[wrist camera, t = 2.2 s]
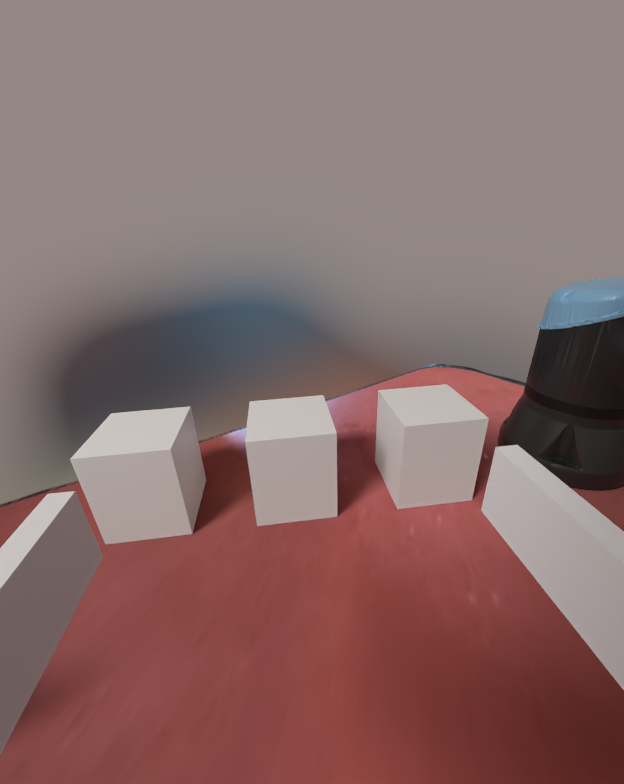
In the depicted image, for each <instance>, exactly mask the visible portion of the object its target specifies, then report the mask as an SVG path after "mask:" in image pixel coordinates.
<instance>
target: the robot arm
mask: <svg viewBox="0 0 624 784" xmlns="http://www.w3.org/2000/svg"><path fill="white" fill-rule="evenodd" d="M538 327H539V328H540V331H539V335H538V339H537V343H536V347H535V351H534V354H533V358H532V362H531V366H530V369H529V373H528V377H527V381H526V385H525V389H524V393H523V395H522V397H521V398H520V399H519V401H518V402H517V404H516V405H515V407H514V409H513V410H512V412H511V414H510V416H509V417H508V418H506V419H505V421H504V422H503V423H502V425H501V428H500V432H499V436H498V445H499V447H495V452H494V456H493V461H492V465H491V469H490V474H489V478H488V482H487V487H486V491H485V496H484V500H483V504H482V509H481V511H482V512H483V513H484V515H485V516H486V517H487V518H488V520H489V521H490V522H491V524H492V525H493V526H494V527H495V529H496V530H497V531H498V532H499V534H500V535H501V536H502V537H503V539H504V540H505V541H506V542H507V544H508V545H509V546H510V547H511V549H512V550H513V551H514V553H515V554H516V555H517V556H518V558H519V559H520V560H521V561H522V563H523V564H524V565H525V566H526V568H527V569H528V570H529V571H530V573H531V574H532V575H533V577H534V578H535V579H536V580H537V582H538V583H539V584H540V585H541V587H542V588H543V589H544V590H545V592H546V593H547V594H548V595H549V597H550V598H551V599H552V600H553V602H554V603H555V604H556V606H557V607H558V608H559V609H560V611H561V612H562V613H563V614H564V616H565V617H566V618H567V619H568V621H569V622H570V623H571V624H572V626H573V627H574V628H575V630H576V631H577V632H578V633H579V635H580V636H581V637H582V638H583V640H584V641H585V642H586V643H587V645H588V646H589V647H590V648H591V650H592V651H593V652H594V654H595V655H596V656H597V657H598V659H599V660H600V661H601V662H602V664H603V665H604V666H605V667H606V669H607V670H608V671H609V672H610V674H611V675H612V676H613V677H614V679H615V680H616V681H617V683H618V684H619V685H620V686H621V688H622V689H623V690H624V531H622V530H621V529H620V528H619V527H617V526H616V525H615V524H614V523H613V522H611V521H610V520H609V519H608V518H606V517H605V516H604V515H603V514H602V513H600V512H599V511H598V510H597V509H595V508H594V507H593V506H592V505H591V504H589V503H588V502H587V501H586V500H584V499H583V498H582V497H581V496H580V495H578V494H577V493H576V492H575V491H573V490H572V489H571V488H570V487H574V488H580V489H588V490H608V489H614V488H618V487H621V486H623V485H624V277H615V278H604V279H595V280H588V281H582V282H576V283H571V284H568V285H565V286H562V287H560V288H558V289H557V290H555V291H554V292H553V293H552V294H551V295H550V297H549V299H548V302H547V305H546V308H545V311H544V314H543V318H542V320H541V321H540V322H539V325H538ZM568 486H569V487H568ZM102 558H103V556H102V553H101V551H100V549H99V546H98V544H97V541H96V539H95V537H94V534H93V532H92V530H91V527H90V525H89V522H88V520H87V518H86V515H85V513H84V511H83V508H82V506H81V503H80V501H79V499H78V496H77V494H76V492H75V491H72V492H62V493H53V494H47V495H46V496H45V497H44V499H43V500H42V501H41V502H40V503H39V504H38V506H37V507H36V508H35V509H34V510H33V511H32V512H31V514H30V515H29V516H28V517H27V518H26V519H25V520H24V522H23V523H22V524H21V525H20V526H19V527H18V529H17V530H16V531H15V532H14V533H13V534H12V535H11V537H10V538H9V539H8V540H7V541H6V542H5V544H4V545H3V546H2V547H1V548H0V755H1V753H2V751H3V749H4V747H5V745H6V743H7V741H8V740H9V738H10V736H11V734H12V732H13V730H14V728H15V726H16V724H17V722H18V720H19V718H20V716H21V714H22V713H23V711H24V709H25V707H26V705H27V703H28V701H29V699H30V697H31V695H32V693H33V691H34V689H35V687H36V686H37V684H38V682H39V680H40V678H41V676H42V674H43V672H44V670H45V668H46V666H47V664H48V662H49V661H50V659H51V657H52V655H53V653H54V651H55V649H56V647H57V645H58V643H59V641H60V639H61V637H62V635H63V634H64V632H65V630H66V628H67V626H68V624H69V622H70V620H71V618H72V616H73V614H74V612H75V610H76V608H77V607H78V605H79V603H80V601H81V599H82V597H83V595H84V593H85V591H86V589H87V587H88V585H89V583H90V582H91V580H92V578H93V576H94V574H95V572H96V570H97V568H98V566H99V564H100V562H101V560H102Z"/></svg>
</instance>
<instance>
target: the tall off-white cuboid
mask: <svg viewBox="0 0 624 784" xmlns="http://www.w3.org/2000/svg"><path fill="white" fill-rule="evenodd" d="M245 446H246V452H247V459H248V466H249V473H250V480H251V487H252V493H253V500H254V507H255V514H256V521H257V526H264V525H272V524H280V523H288V522H297V521H305V520H313V519H322V518H330V517H337V433H336V430H335V427H334V424H333V421H332V419H331V416H330V413H329V410H328V407H327V404H326V402H325V399H324V396H323V395H321V396H320V395H319V396H308V397H297V398H285V399H274V400H261V401H251V402H250V404H249V413H248V421H247V429H246V438H245Z"/></svg>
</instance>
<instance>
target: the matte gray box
mask: <svg viewBox="0 0 624 784" xmlns="http://www.w3.org/2000/svg"><path fill="white" fill-rule="evenodd" d="M70 460H71V463H72V465H73V468H74V470H75V472H76V475H77V477H78V480H79V482H80V484H81V487H82V489H83V492H84V494H85V496H86V499H87V501H88V504H89V506H90V508H91V511H92V513H93V516H94V518H95V520H96V523H97V525H98V528H99V530H100V532H101V535H102V537H103V540H104V542H105V544H114V543H122V542H130V541H138V540H147V539H155V538H163V537H172V536H180V535H188V534H193V530H194V526H195V522H196V518H197V514H198V510H199V506H200V503H201V499H202V495H203V491H204V487H205V483H206V477H205V472H204V467H203V463H202V458H201V453H200V449H199V444H198V440H197V435H196V430H195V426H194V421H193V417H192V412H191V407H180V408H169V409H158V410H145V411H134V412H122V413H112V414H111V415H110V416H109V417H108V418H107V419H106V420H105V421H104V422H103V423H102V424H101V425H100V427H99V428H98V429H97V430H96V431H95V432H94V433H93V435H92V436H91V437H90V438H89V439H88V440H87V441H86V442H85V443H84V444H83V445H82V447H81V448H80V449H79V450H78V451H77V452H76V453H75V454H74V455H73V457H72V458H71V459H70Z"/></svg>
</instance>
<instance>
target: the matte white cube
mask: <svg viewBox="0 0 624 784" xmlns="http://www.w3.org/2000/svg"><path fill="white" fill-rule="evenodd" d="M488 421H489V418H488V417H487V416H485V415H484V414H483V413H482V412H480V411H479V410H478V409H477V408H476V407H474V406H473V405H472V404H471V403H469V402H468V401H467V400H466V399H464V398H463V397H462V396H461V395H460V394H458V393H457V392H456V391H455V390H453V389H452V388H451V387H450V386H448V385H447V384H446V385H434V386H422V387H411V388H399V389H388V390H378V410H377V431H376V451H375V463H376V465H377V467H378V470H379V472H380V474H381V476H382V478H383V480H384V482H385V484H386V486H387V488H388V490H389V493H390V495H391V497H392V499H393V501H394V503H395V505H396V507H397V509H404V508H413V507H421V506H429V505H437V504H446V503H454V502H462V501H471V500H472V497H473V493H474V488H475V483H476V478H477V473H478V469H479V464H480V459H481V454H482V450H483V445H484V440H485V435H486V430H487V426H488Z"/></svg>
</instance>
